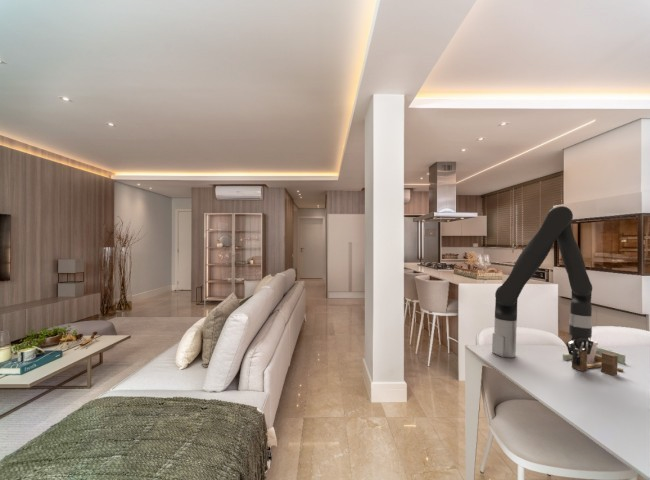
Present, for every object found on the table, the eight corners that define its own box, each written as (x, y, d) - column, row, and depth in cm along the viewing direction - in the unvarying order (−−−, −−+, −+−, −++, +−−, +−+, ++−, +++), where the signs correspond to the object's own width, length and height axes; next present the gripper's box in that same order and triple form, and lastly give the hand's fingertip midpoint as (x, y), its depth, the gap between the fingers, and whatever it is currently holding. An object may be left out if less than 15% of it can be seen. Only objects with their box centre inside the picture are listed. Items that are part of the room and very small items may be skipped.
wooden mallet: (581, 371, 130) (582, 352, 130) (556, 361, 140) (557, 343, 140) (612, 366, 136) (612, 348, 136) (585, 357, 146) (586, 340, 146)
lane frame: (590, 369, 133) (590, 360, 133) (562, 359, 143) (563, 350, 143) (625, 363, 140) (625, 355, 140) (596, 354, 151) (596, 346, 151)
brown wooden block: (612, 375, 127) (613, 356, 127) (601, 371, 131) (601, 352, 131) (627, 372, 130) (628, 354, 130) (616, 369, 134) (616, 350, 134)
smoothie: (600, 365, 138) (601, 334, 138) (584, 363, 139) (585, 332, 139) (591, 359, 144) (592, 330, 144) (575, 358, 145) (576, 328, 145)
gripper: (582, 321, 138) (580, 359, 138) (559, 323, 134) (558, 362, 134) (601, 326, 131) (600, 366, 131) (578, 328, 126) (577, 370, 127)
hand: (579, 364), depth 132 cm, fingers closed on wooden mallet, 3 cm apart
